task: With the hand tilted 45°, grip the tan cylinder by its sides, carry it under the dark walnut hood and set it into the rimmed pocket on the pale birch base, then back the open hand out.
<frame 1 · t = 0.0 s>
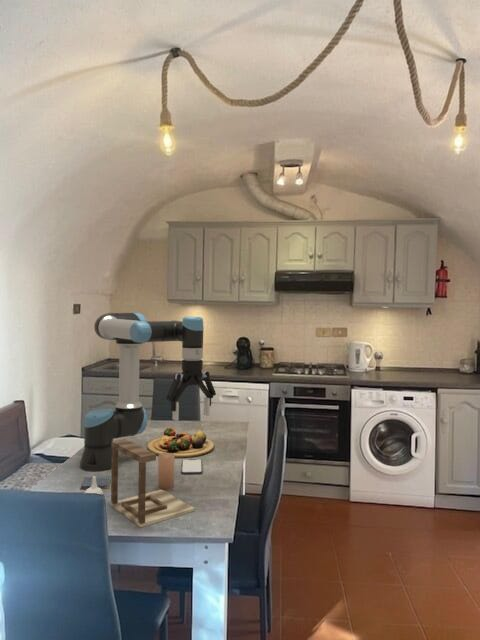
hand: (191, 417, 180), 28 cm above the table, tool pointing down, fingers open, 13 cm apart
phone case: (191, 469, 209), on the table
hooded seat: (152, 508, 167), on the table
tan cylinder: (166, 486, 187), on the table
woven mat: (95, 486, 188), on the table
garlic bulb: (93, 499, 175), on the table
wooden plate with food: (180, 449, 237), on the table
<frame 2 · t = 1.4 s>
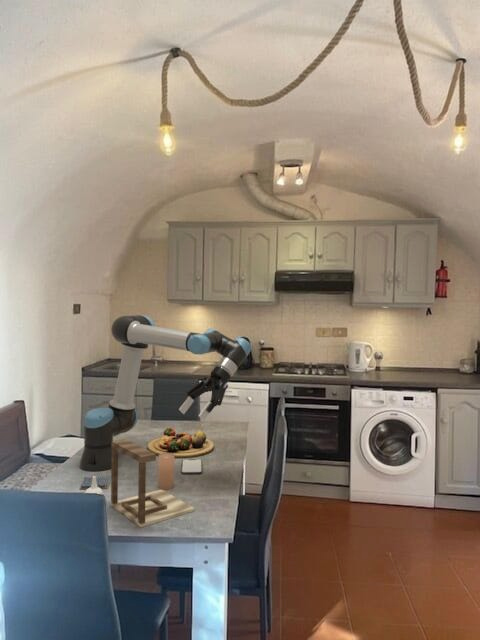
hand: (190, 415, 184), 28 cm above the table, tool tilted 45°, fingers open, 13 cm apart
nothing on the table moved.
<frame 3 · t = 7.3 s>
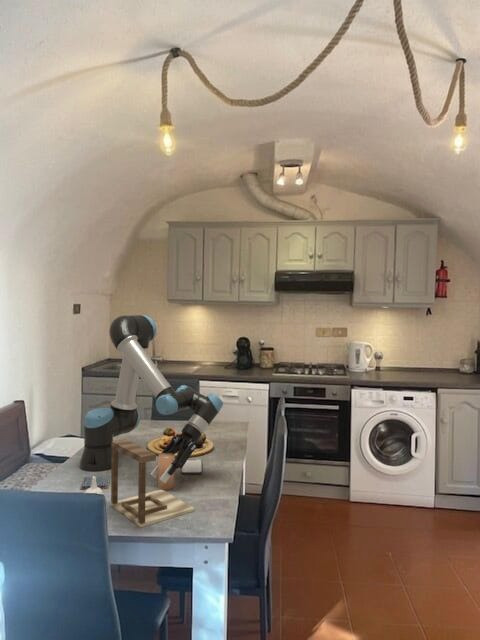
hand: (157, 478, 185), 4 cm above the table, tool tilted 45°, fingers closed on tan cylinder, 6 cm apart
tan cylinder: (166, 486, 187), on the table, touching gripper
everything else where it was.
when the fingers open (6 cm above the table, at t = 15.9 s): tan cylinder stays where it is, resting on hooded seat.
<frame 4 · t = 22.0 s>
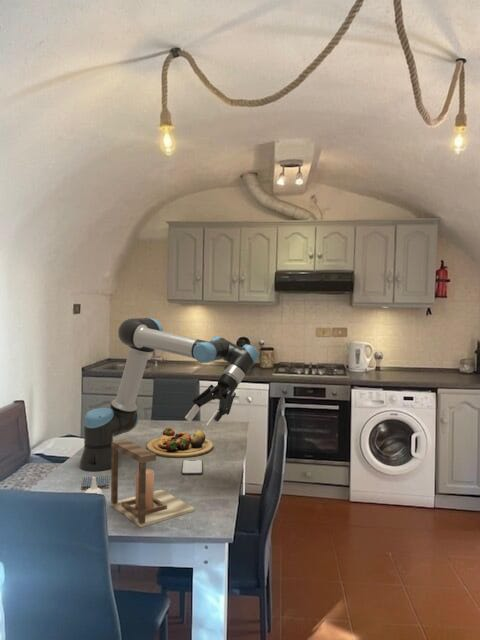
hand: (197, 423, 181), 26 cm above the table, tool tilted 45°, fingers open, 13 cm apart
tan cylinder: (144, 507, 165), point 1 cm above the table, touching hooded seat
everything else where it was.
at the end: tan cylinder 0.1 cm from the target spot on the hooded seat, point 1.0 cm above the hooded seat's base; tan cylinder tilted 0°; the gripper is holding nothing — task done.
